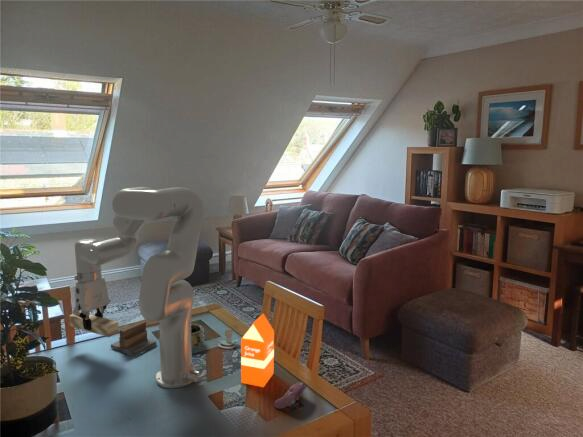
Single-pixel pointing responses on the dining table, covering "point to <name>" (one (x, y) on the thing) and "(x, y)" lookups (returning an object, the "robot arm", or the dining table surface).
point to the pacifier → (227, 340)
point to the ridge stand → (133, 340)
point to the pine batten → (96, 325)
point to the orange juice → (257, 353)
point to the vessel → (196, 336)
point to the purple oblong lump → (290, 396)
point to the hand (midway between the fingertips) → (93, 326)
